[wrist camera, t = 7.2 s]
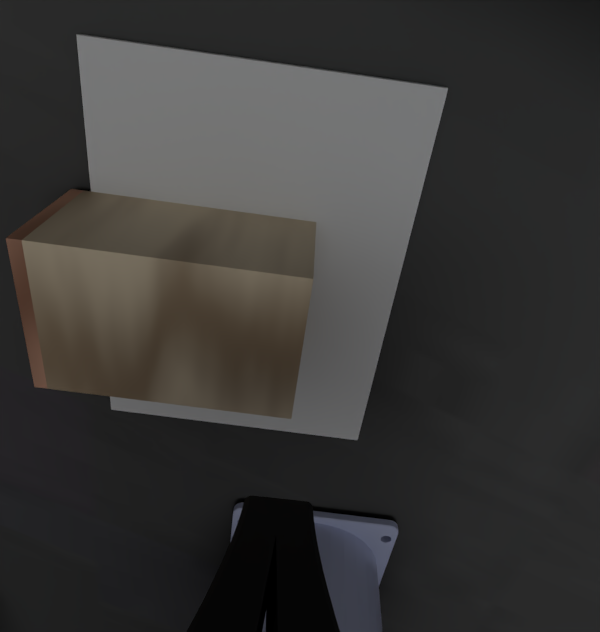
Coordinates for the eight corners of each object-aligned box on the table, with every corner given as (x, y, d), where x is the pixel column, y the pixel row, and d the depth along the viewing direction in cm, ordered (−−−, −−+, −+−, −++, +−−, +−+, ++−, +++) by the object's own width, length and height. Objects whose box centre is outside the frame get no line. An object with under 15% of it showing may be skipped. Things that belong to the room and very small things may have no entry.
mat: (357, 435, 22) (357, 440, 22) (113, 404, 22) (111, 409, 22) (446, 86, 15) (447, 88, 15) (80, 34, 15) (76, 34, 14)
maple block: (86, 318, 19) (297, 345, 20) (34, 386, 16) (291, 419, 16) (71, 188, 17) (316, 222, 17) (5, 237, 13) (313, 278, 13)
